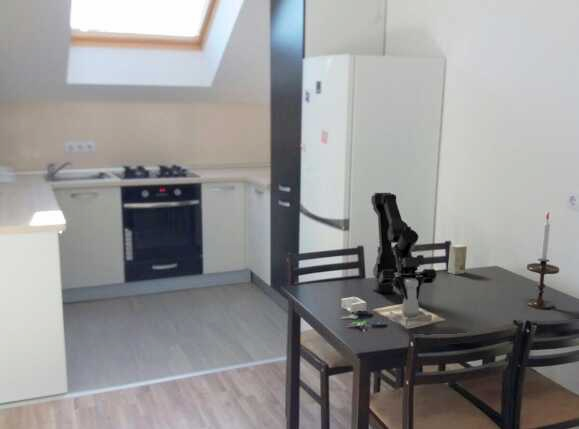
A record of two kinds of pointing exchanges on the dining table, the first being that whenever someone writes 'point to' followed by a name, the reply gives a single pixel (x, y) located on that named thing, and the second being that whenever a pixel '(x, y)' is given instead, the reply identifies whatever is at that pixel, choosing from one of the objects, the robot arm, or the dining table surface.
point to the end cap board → (398, 317)
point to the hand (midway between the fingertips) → (412, 299)
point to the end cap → (353, 304)
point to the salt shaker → (410, 299)
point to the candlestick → (542, 271)
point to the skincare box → (457, 259)
